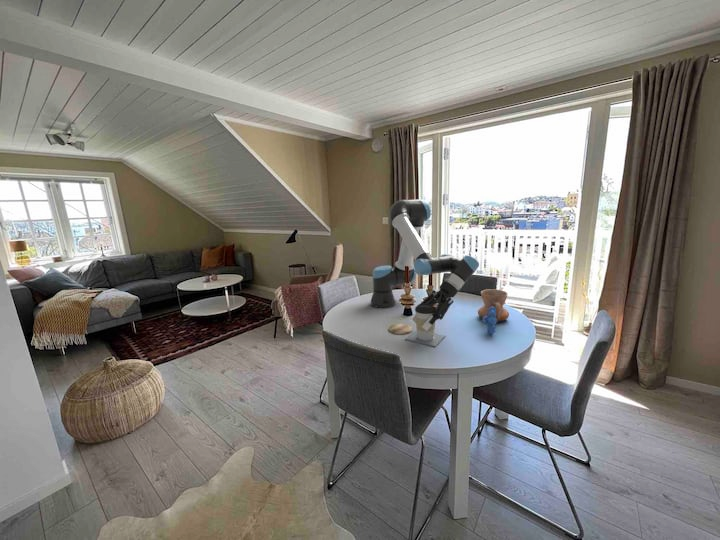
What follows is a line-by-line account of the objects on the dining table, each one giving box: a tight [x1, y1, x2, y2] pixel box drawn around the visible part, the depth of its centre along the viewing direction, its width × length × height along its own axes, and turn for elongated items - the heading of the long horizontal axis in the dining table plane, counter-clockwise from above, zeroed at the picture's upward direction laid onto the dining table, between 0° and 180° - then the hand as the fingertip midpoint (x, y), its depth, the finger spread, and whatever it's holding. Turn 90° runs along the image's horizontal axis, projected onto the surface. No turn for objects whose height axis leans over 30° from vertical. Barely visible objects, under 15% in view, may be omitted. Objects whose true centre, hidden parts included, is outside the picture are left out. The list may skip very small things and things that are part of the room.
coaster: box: [388, 323, 413, 335], centre depth 141 cm, size 11×11×1 cm
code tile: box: [404, 329, 446, 348], centre depth 130 cm, size 14×12×1 cm
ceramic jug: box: [477, 288, 510, 322], centre depth 148 cm, size 18×14×14 cm
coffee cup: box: [414, 303, 436, 340], centre depth 129 cm, size 9×9×15 cm
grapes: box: [481, 306, 499, 335], centre depth 133 cm, size 12×7×12 cm, turn 157°
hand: (418, 324), depth 128 cm, fingers closed on coffee cup, 9 cm apart
